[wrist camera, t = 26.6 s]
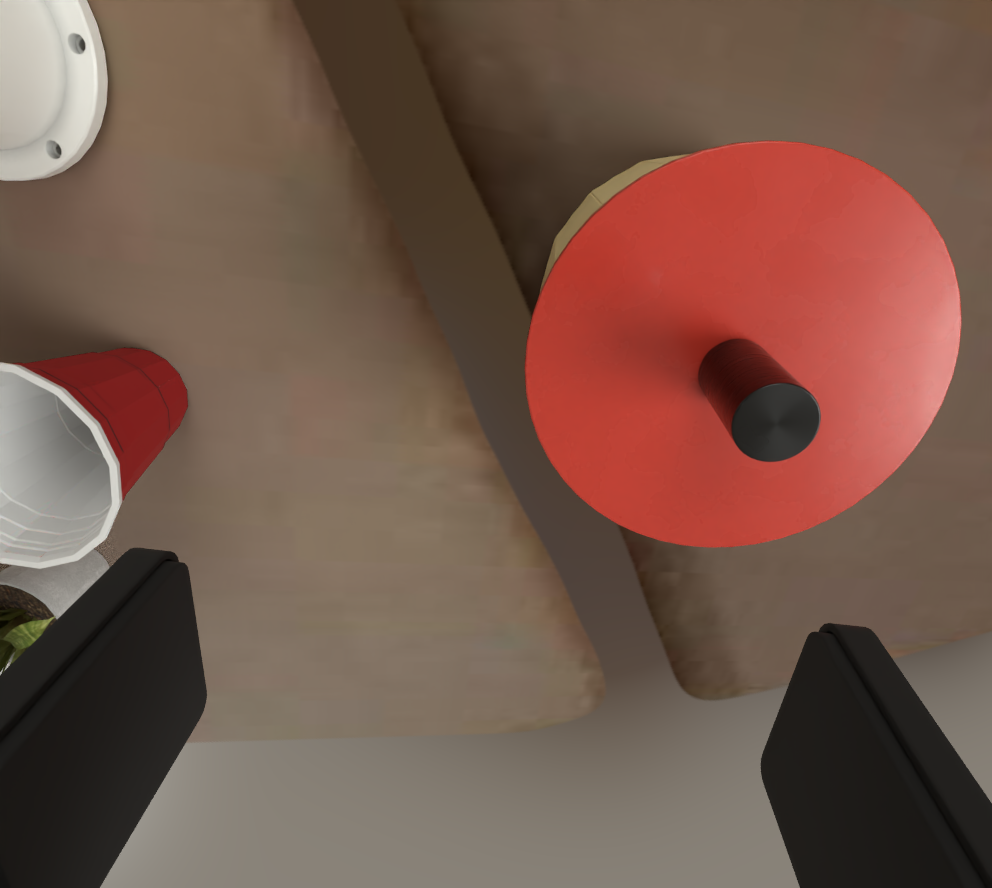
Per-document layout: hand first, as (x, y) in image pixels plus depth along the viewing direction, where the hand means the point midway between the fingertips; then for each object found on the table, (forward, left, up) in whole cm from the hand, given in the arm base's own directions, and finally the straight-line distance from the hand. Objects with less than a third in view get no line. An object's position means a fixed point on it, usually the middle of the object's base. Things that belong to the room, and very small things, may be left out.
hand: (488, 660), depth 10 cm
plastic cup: (-7, -25, -29) cm, 39 cm away
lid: (+4, +6, -17) cm, 18 cm away
